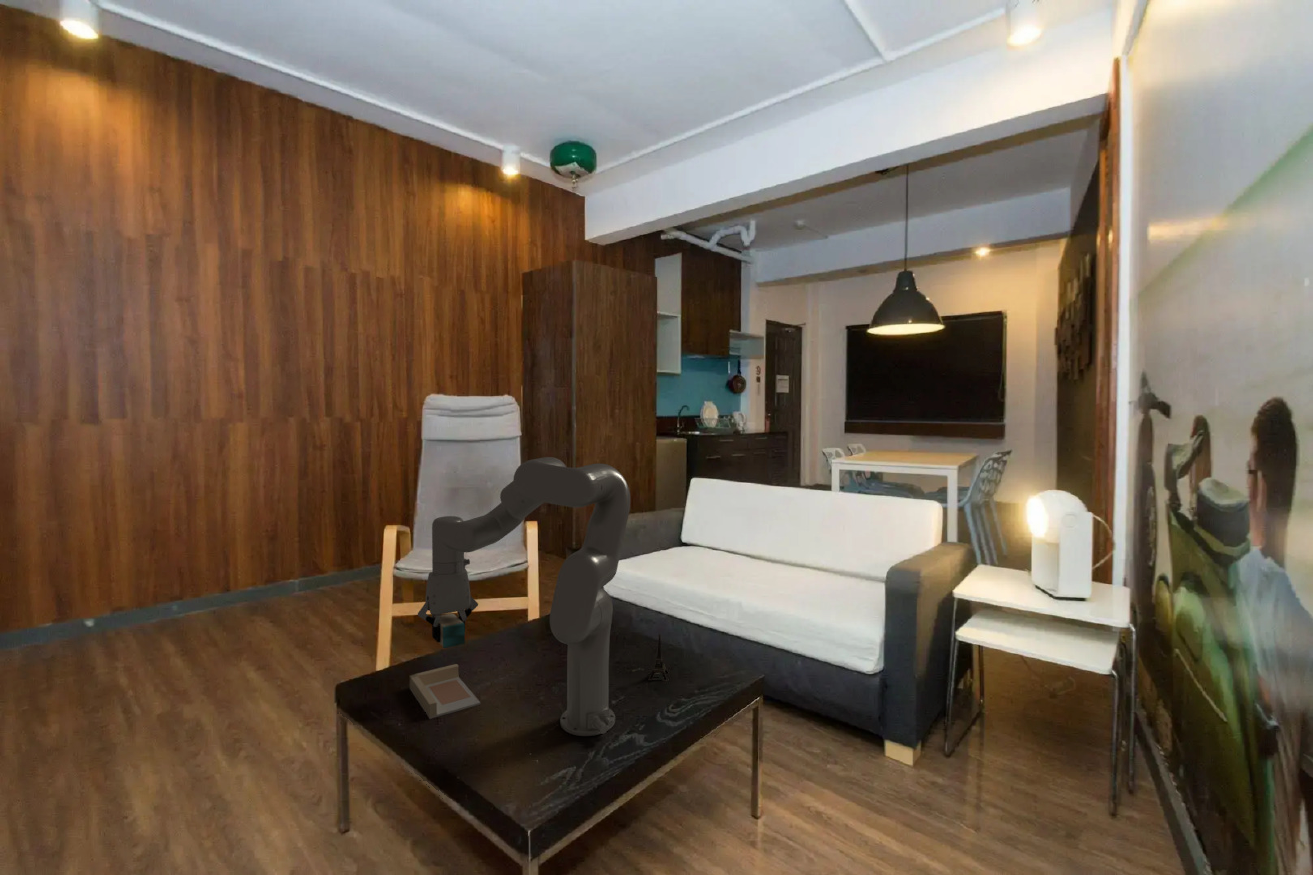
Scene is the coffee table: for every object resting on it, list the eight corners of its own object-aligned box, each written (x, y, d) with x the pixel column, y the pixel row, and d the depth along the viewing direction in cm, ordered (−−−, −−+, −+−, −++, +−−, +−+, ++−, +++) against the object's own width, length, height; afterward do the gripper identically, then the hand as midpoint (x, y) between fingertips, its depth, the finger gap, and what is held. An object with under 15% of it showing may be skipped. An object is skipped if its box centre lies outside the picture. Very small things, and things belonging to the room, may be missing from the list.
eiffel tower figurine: (693, 683, 162) (693, 634, 161) (662, 694, 156) (663, 643, 155) (659, 663, 174) (659, 617, 173) (629, 672, 168) (630, 625, 167)
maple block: (453, 632, 158) (453, 613, 158) (464, 643, 151) (464, 623, 150) (433, 636, 155) (433, 617, 155) (444, 648, 148) (444, 628, 147)
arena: (480, 704, 149) (480, 690, 148) (429, 719, 142) (429, 704, 141) (456, 676, 163) (456, 663, 163) (409, 688, 156) (409, 675, 156)
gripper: (476, 558, 160) (477, 626, 161) (408, 568, 150) (409, 640, 151) (487, 565, 154) (487, 635, 155) (416, 575, 144) (417, 651, 145)
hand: (448, 637), depth 153 cm, fingers closed on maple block, 5 cm apart
